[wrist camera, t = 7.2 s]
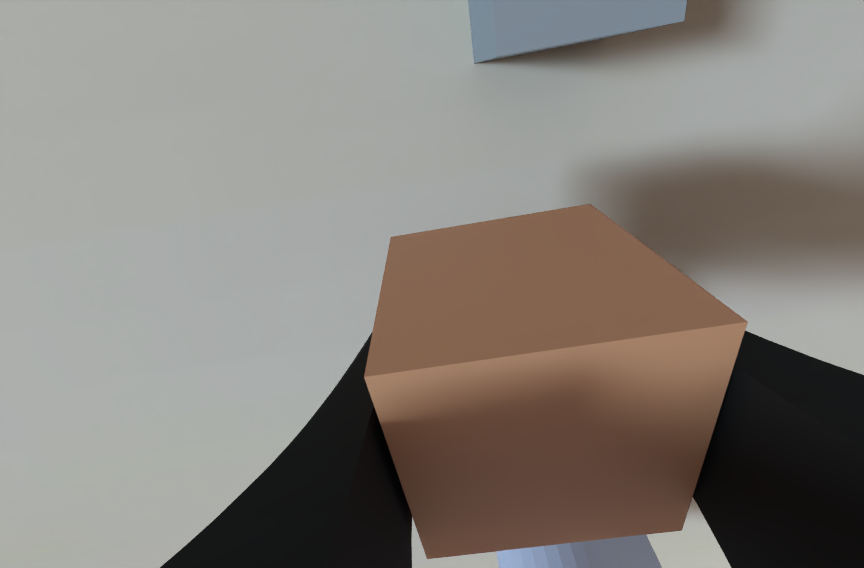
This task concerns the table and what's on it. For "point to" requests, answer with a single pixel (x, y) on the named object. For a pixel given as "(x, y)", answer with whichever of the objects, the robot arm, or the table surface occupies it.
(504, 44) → the slate block
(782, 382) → the robot arm
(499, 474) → the orange block
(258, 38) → the table surface
